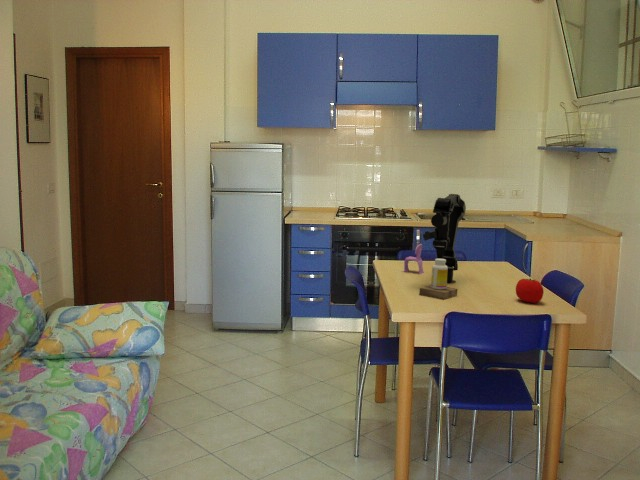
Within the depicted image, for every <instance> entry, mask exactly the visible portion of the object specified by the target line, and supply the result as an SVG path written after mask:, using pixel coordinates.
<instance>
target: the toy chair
mask: <svg viewBox="0 0 640 480" xmlns="http://www.w3.org/2000/svg"><path fill="white" fill-rule="evenodd" d="M422 249H423V244H422V243H419V244H418V245H417V246H416V247H415V251H414V254H415V255H416V256H415V257H414V256H410V255H409V256H407V257H405V259H404V262H403V266H404V267H403V272H404V273H406V272H409V271H410V269H409V261H413V262H416V263H417V265H418V275H422V274H423V273H424V268H423V260H422V257H421V254H422Z"/></svg>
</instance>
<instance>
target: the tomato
mask: <svg viewBox="0 0 640 480" xmlns="http://www.w3.org/2000/svg"><path fill="white" fill-rule="evenodd" d="M515 294H516V296H517V297H518V299H519V300H520V301H522V302H525V303H529V304H537V303H540V302H541V300H542V299H543V296H544V287H543V285H542V283H541V282H540V281H538V280H537V278H536V279H531V278H521V279H519V280H518V281H517V283H516V285H515Z"/></svg>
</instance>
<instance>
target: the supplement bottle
mask: <svg viewBox="0 0 640 480" xmlns="http://www.w3.org/2000/svg"><path fill="white" fill-rule="evenodd" d="M434 263H435V264H433V265H432V267H431V268H432V269H431V283H430V285H431V287H432V288H433V289H438V290H443V289H446V287H448V286H447V285H448V283H447V272H448V267H447V266H446V265H445V263H446V260H445V259H437V258H434Z"/></svg>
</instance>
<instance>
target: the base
mask: <svg viewBox="0 0 640 480" xmlns="http://www.w3.org/2000/svg"><path fill="white" fill-rule="evenodd" d="M458 290H459V289H458V288H455V287H449V286H446V289H443V290H438V289H433V288H432V287H431V284H430V285H426V286H422V287H419V294H418V295H419V296H424V297H428V298H433V299H439V300H442V301H443V300H447V299H451V298H454V297H456V296H458Z"/></svg>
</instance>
